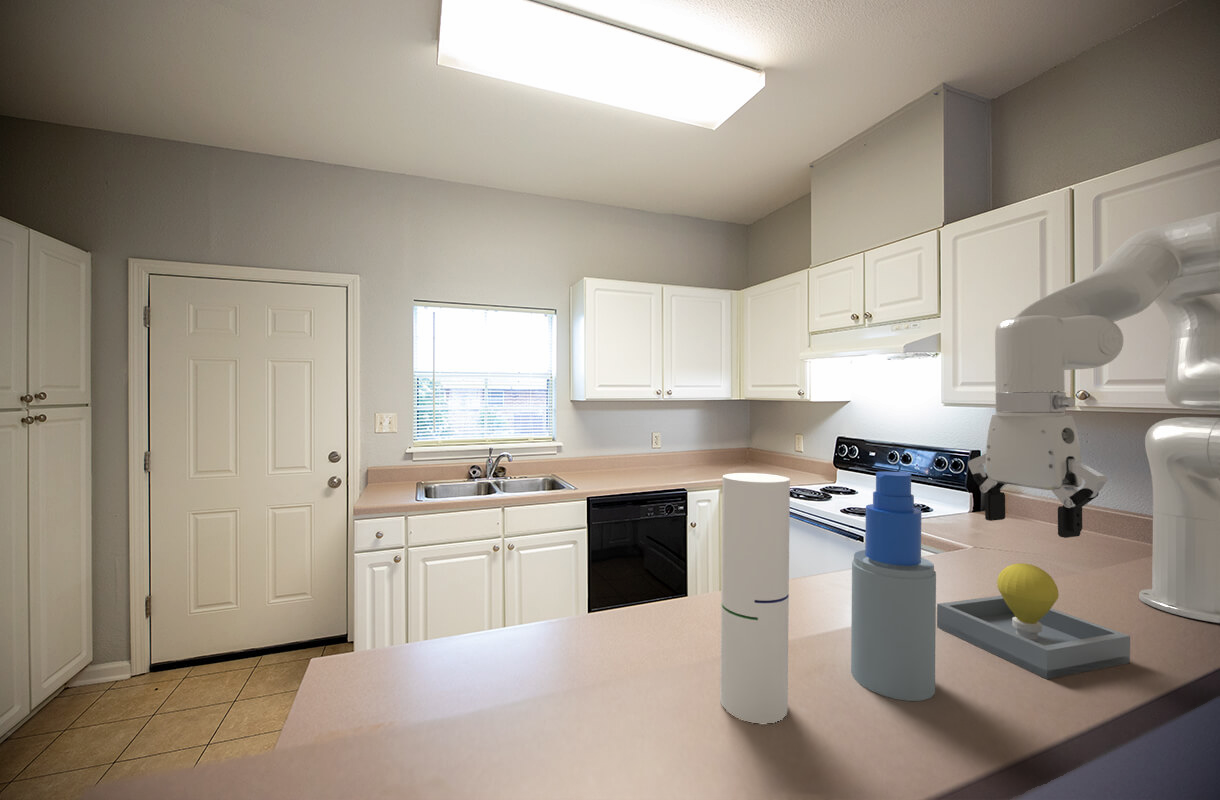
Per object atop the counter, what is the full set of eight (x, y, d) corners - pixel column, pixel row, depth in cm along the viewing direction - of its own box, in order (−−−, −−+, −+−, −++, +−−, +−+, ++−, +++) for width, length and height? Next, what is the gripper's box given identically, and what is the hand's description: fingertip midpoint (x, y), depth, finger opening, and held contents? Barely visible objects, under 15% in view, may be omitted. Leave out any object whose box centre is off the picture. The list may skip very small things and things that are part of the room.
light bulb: (986, 624, 76) (986, 556, 76) (1035, 626, 75) (1035, 558, 75) (1017, 645, 69) (1017, 571, 69) (1071, 648, 69) (1071, 573, 69)
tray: (1010, 616, 81) (1011, 594, 81) (1129, 662, 67) (1130, 635, 67) (936, 627, 77) (937, 603, 77) (1047, 679, 63) (1047, 650, 63)
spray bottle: (910, 662, 66) (912, 468, 66) (952, 703, 57) (954, 478, 58) (839, 659, 67) (841, 467, 67) (869, 699, 58) (871, 477, 58)
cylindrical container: (796, 725, 53) (799, 482, 53) (727, 723, 53) (730, 481, 53) (776, 687, 60) (778, 473, 60) (714, 685, 60) (717, 472, 61)
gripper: (1123, 405, 65) (1124, 541, 65) (988, 404, 81) (988, 512, 82) (1082, 406, 63) (1083, 547, 63) (951, 405, 79) (952, 516, 79)
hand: (1029, 527), depth 72 cm, fingers open, 9 cm apart
